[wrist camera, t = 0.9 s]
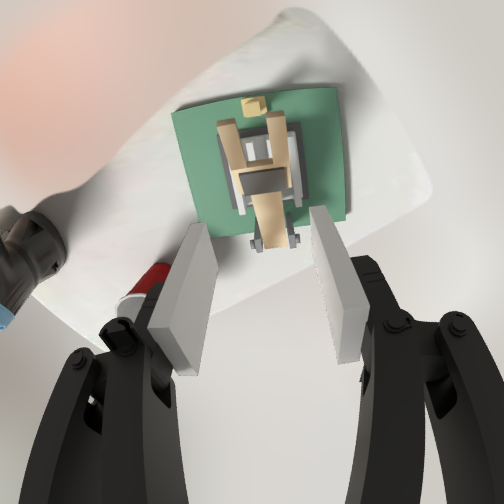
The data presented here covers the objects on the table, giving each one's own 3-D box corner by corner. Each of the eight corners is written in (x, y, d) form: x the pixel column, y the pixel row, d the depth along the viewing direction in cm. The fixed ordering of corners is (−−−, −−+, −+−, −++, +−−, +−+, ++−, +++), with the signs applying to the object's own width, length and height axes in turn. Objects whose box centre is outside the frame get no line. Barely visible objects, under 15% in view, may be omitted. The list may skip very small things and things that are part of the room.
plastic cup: (202, 291, 51) (190, 341, 41) (154, 300, 53) (136, 346, 43) (178, 244, 45) (158, 291, 35) (128, 257, 47) (102, 301, 37)
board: (206, 234, 44) (195, 269, 36) (174, 112, 33) (149, 120, 26) (343, 216, 42) (360, 248, 34) (333, 87, 31) (355, 87, 23)
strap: (256, 244, 37) (257, 252, 37) (216, 121, 19) (216, 129, 19) (294, 239, 37) (295, 247, 36) (283, 110, 18) (285, 118, 18)
